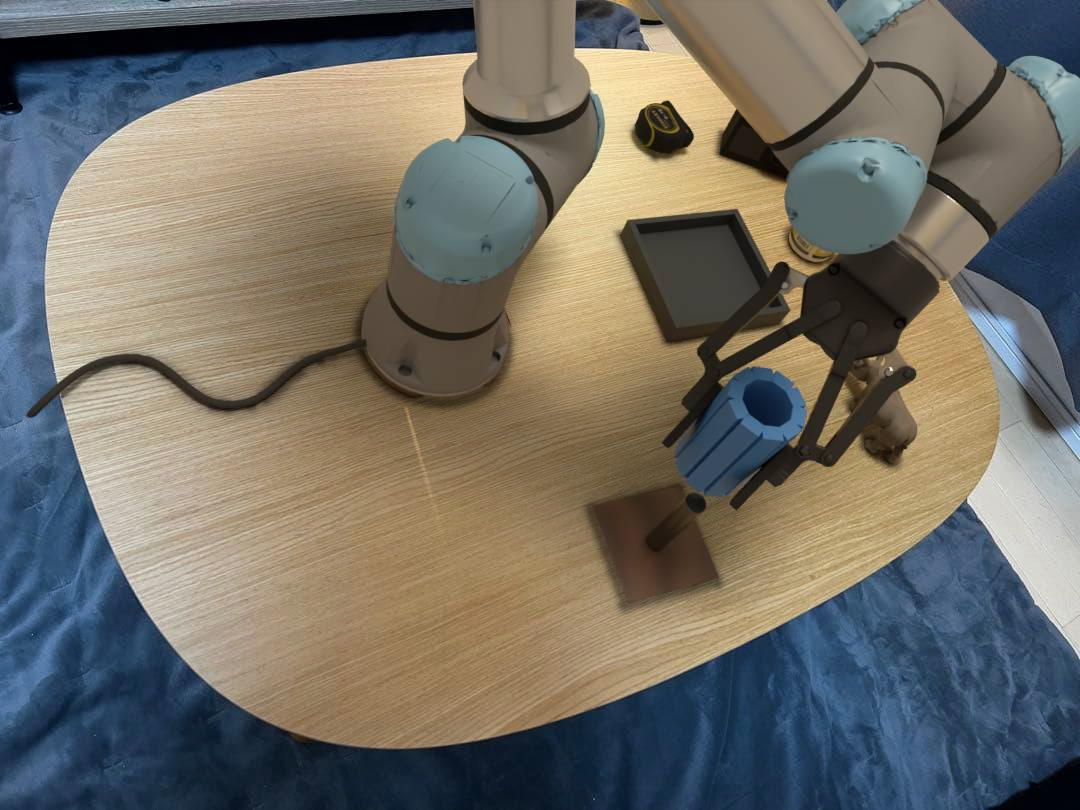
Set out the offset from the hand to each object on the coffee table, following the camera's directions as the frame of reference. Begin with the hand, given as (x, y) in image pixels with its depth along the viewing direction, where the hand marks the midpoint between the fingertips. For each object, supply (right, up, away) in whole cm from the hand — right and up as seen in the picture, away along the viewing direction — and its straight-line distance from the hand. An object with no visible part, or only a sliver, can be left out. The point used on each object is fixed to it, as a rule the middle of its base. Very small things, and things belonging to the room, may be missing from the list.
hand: (700, 473), depth 70 cm
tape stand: (-2, -8, +14) cm, 16 cm away
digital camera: (+16, +39, +46) cm, 62 cm away
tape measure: (+3, +41, +43) cm, 60 cm away
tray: (+6, +21, +33) cm, 39 cm away
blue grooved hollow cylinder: (+2, +1, +4) cm, 5 cm away
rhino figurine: (+24, +5, +29) cm, 38 cm away
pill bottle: (+22, +26, +40) cm, 53 cm away
